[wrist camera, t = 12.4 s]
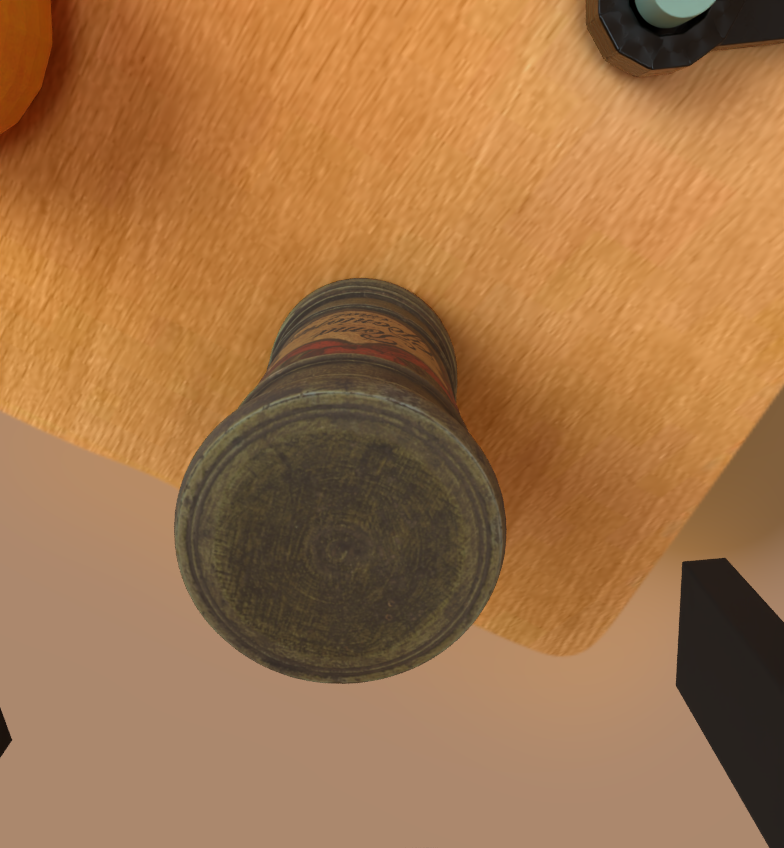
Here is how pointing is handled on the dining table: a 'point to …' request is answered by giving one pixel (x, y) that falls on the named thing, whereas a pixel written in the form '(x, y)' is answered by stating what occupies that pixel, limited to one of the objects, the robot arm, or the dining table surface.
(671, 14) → the button
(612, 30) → the scale
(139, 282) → the dining table surface
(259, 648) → the container
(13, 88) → the fruit
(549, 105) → the dining table surface
